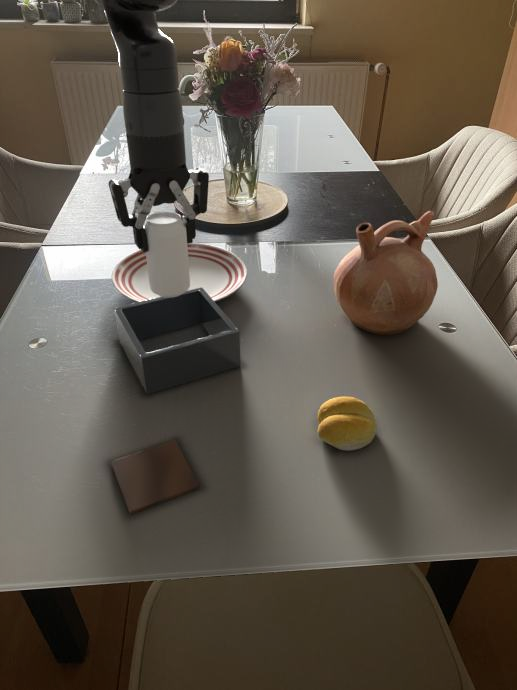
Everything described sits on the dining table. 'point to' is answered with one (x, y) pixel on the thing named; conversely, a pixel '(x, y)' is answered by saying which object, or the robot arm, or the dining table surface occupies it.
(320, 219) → the dining table surface
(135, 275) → the dinner plate
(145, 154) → the robot arm
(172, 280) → the beverage can
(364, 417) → the bread roll
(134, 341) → the grey open box
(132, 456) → the coaster
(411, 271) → the jug
